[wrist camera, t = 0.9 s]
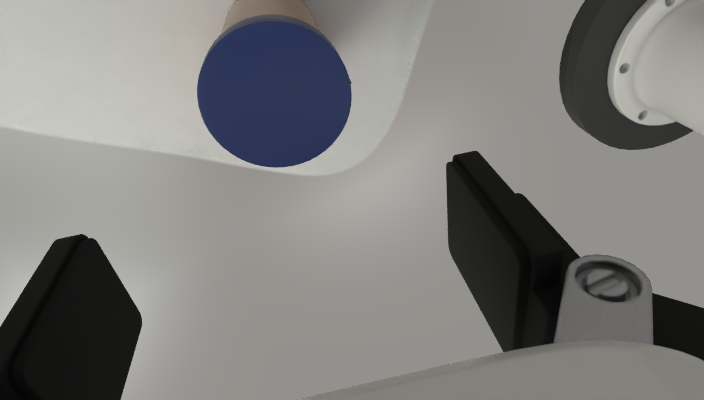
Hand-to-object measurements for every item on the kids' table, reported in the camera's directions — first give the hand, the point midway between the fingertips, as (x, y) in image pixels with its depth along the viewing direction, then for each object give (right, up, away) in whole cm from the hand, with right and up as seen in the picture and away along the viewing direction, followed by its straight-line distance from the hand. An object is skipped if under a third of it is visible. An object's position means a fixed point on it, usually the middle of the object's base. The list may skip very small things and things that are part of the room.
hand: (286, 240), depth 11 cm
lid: (-2, +5, +9) cm, 10 cm away
